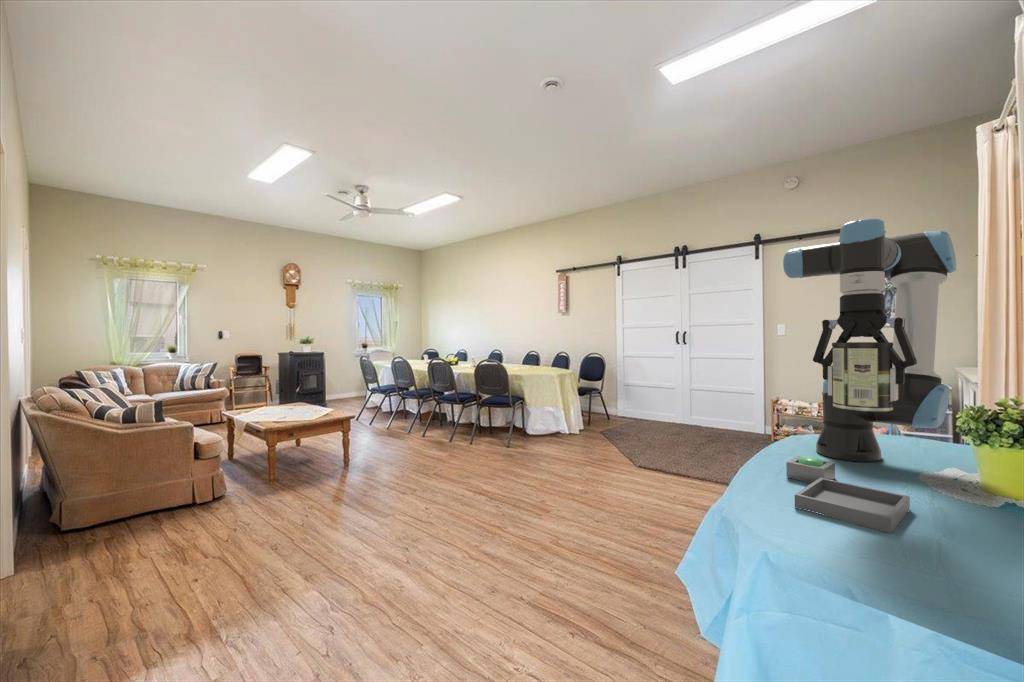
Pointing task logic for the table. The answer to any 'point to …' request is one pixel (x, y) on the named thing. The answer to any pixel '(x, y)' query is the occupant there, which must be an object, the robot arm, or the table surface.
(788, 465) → the button housing
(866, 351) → the coffee can
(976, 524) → the table surface
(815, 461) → the button
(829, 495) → the shallow gray tray
